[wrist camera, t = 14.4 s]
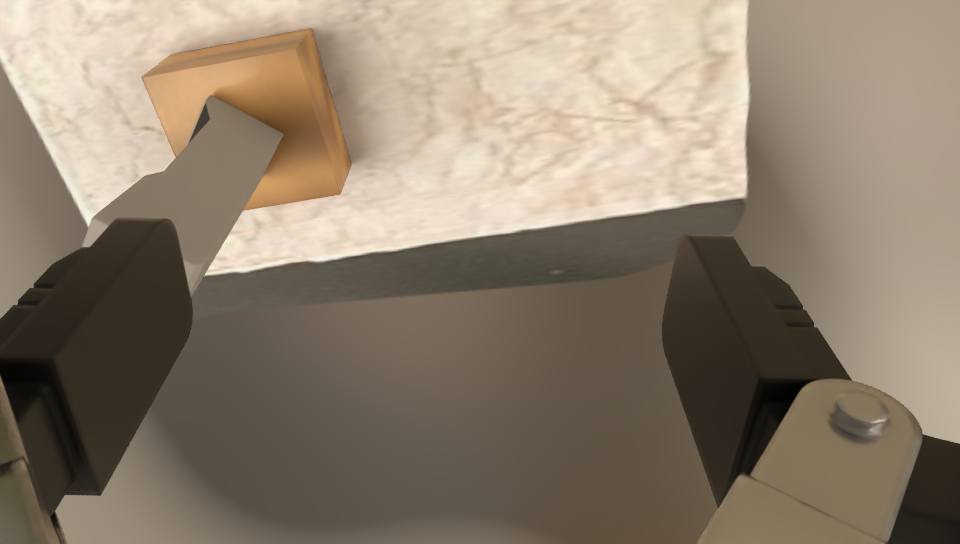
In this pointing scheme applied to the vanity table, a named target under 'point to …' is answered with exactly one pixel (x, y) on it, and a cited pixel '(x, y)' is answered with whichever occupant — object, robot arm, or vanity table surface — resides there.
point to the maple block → (261, 109)
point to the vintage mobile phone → (201, 185)
